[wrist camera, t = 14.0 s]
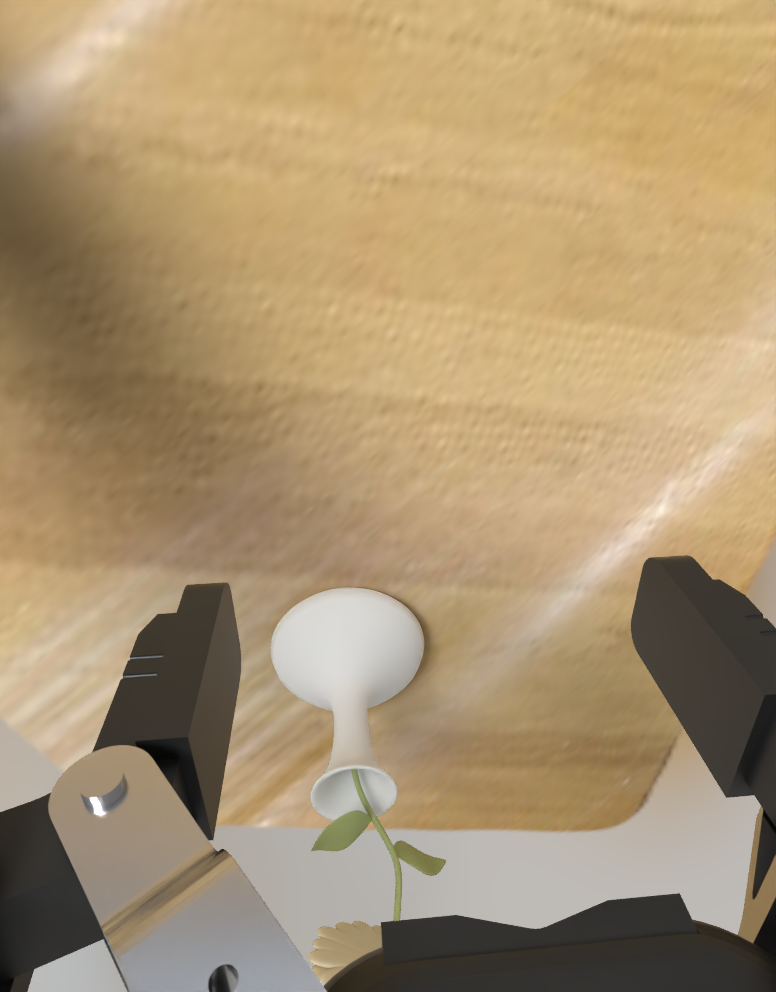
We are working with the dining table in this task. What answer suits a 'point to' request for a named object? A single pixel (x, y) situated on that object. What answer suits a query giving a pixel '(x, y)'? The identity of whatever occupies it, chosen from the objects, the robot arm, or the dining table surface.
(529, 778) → the dining table surface
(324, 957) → the flower in vase
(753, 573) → the dining table surface
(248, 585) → the dining table surface
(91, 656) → the dining table surface
